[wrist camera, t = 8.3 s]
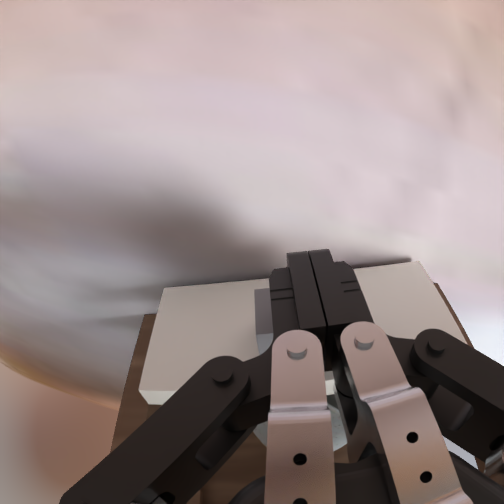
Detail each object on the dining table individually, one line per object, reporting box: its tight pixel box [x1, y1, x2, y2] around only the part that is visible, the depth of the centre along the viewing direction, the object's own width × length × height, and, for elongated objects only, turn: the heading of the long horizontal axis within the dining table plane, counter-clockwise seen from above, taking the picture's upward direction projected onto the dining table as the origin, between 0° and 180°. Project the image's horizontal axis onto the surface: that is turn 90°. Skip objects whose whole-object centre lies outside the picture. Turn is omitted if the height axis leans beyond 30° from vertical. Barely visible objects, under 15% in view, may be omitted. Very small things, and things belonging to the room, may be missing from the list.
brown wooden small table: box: [110, 283, 485, 504], centre depth 14 cm, size 12×18×18 cm, turn 96°
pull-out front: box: [139, 261, 468, 405], centre depth 14 cm, size 3×14×6 cm, turn 97°
